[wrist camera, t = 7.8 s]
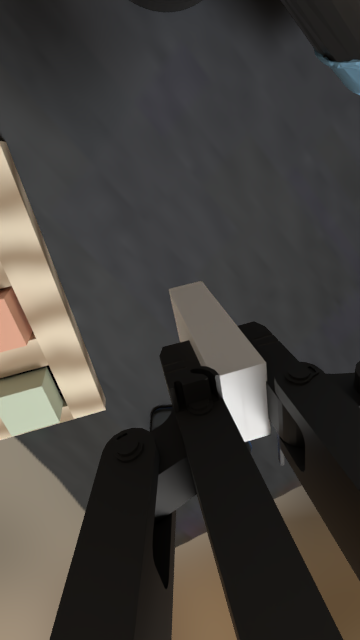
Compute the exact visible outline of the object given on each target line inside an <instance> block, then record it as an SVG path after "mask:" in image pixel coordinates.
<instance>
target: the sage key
mask: <svg viewBox="0 0 360 640" xmlns="http://www.w3.org/2000/svg"><path fill="white" fill-rule="evenodd" d="M62 407H63V400H62V398H61V396H60V394H59V392H58V389H57V387H56V385H55V383H54V381H53V379H52V377H51V375H50V373H49V370H48V368H47V367H45V368H42V369H38V370H34V371H31V372H27V373H23V374H19V375H16V376H12V377H8V378H5V379H1V380H0V418H1V420H2V421H3V423H4V424H5V426H6V428H7V429H8V431H9V433H10V434H11V436H15V435H18V434H22V433H25V432H29V431H32V430H36V429H39V428H43V427H46V426H49V425H53V424H56V423H60V419H61V413H62Z"/></svg>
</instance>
